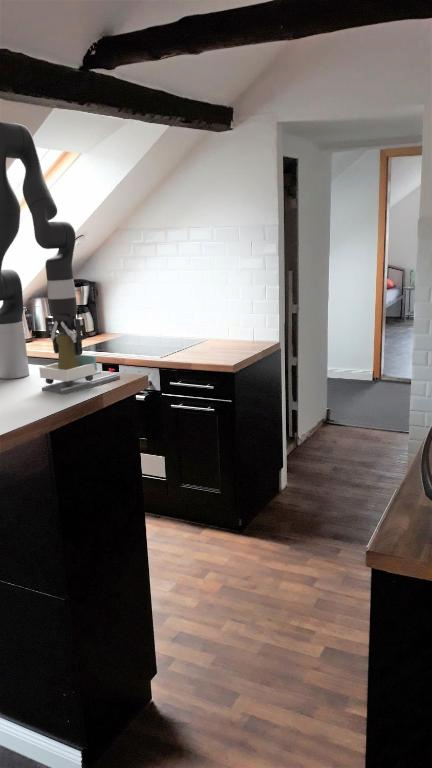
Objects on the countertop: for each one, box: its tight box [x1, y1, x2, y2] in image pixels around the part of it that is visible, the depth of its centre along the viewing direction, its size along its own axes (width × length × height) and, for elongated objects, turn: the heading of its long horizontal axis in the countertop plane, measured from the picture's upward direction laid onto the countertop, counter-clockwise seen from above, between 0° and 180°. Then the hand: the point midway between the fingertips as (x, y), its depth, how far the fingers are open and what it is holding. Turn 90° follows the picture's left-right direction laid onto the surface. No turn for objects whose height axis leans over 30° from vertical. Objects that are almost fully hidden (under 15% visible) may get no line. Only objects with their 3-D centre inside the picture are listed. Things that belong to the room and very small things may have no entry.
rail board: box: [41, 371, 121, 396], centre depth 175 cm, size 10×21×1 cm, turn 144°
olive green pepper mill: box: [56, 333, 79, 370], centre depth 170 cm, size 6×6×11 cm
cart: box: [38, 354, 98, 387], centre depth 171 cm, size 11×11×7 cm
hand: (68, 354), depth 170 cm, fingers open, 8 cm apart
